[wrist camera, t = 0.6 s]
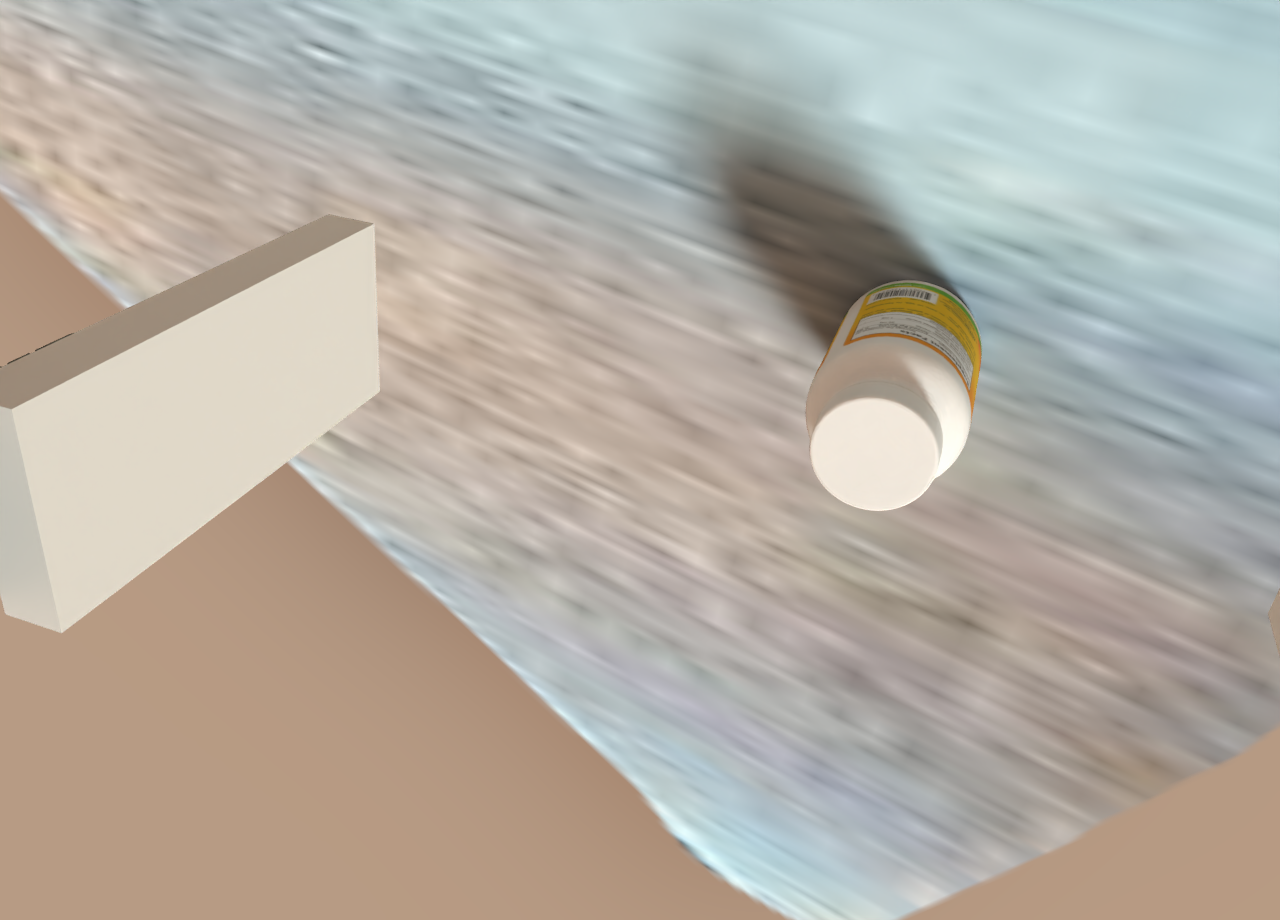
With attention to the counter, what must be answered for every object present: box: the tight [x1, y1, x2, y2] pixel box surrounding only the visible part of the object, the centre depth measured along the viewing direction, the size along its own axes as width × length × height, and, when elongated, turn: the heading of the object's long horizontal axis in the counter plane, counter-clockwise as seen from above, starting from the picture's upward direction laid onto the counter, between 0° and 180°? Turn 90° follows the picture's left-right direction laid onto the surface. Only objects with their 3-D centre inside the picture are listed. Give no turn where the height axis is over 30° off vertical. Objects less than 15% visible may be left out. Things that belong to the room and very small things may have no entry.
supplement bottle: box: [805, 280, 982, 511], centre depth 38 cm, size 5×5×10 cm
